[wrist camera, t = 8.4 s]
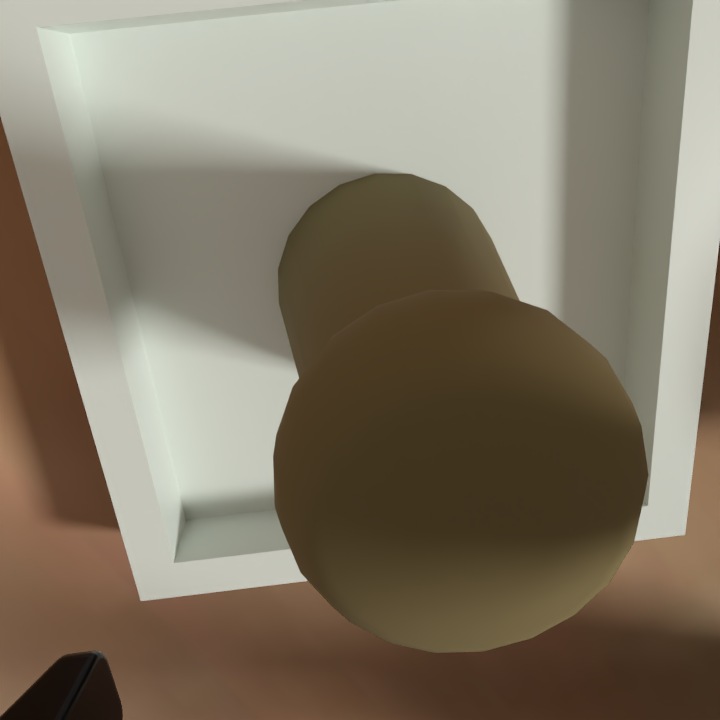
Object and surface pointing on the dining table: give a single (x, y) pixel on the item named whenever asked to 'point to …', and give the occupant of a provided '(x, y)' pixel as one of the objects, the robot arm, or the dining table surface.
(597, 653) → the dining table surface
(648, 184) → the tray
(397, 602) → the brown pawn
